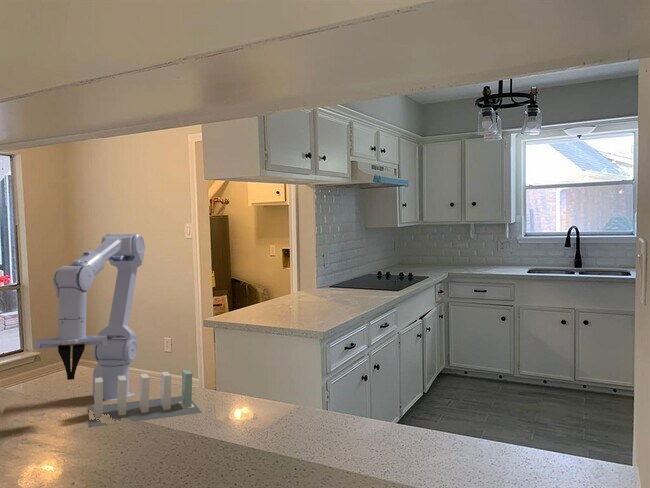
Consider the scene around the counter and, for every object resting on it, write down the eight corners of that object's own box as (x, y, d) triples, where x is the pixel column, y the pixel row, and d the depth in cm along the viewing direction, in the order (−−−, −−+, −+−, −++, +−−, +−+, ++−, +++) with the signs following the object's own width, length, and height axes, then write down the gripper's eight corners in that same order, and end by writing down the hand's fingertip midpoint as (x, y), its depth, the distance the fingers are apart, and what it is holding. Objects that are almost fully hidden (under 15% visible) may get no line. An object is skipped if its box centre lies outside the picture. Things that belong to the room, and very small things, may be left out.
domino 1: (94, 418, 112) (95, 382, 112) (94, 412, 116) (94, 378, 116) (102, 417, 112) (103, 381, 113) (101, 411, 117) (102, 377, 117)
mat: (89, 428, 106) (89, 427, 106) (87, 408, 121) (88, 406, 121) (202, 414, 116) (202, 412, 116) (188, 397, 131) (188, 395, 131)
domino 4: (163, 410, 118) (164, 376, 119) (160, 404, 123) (161, 372, 123) (170, 409, 119) (171, 375, 119) (167, 403, 123) (167, 371, 124)
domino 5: (184, 407, 120) (185, 374, 121) (181, 402, 125) (182, 370, 125) (191, 406, 121) (192, 373, 121) (188, 401, 126) (188, 369, 126)
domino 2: (118, 415, 114) (119, 380, 114) (117, 409, 118) (117, 376, 119) (126, 414, 114) (126, 379, 115) (124, 409, 119) (124, 375, 119)
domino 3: (141, 412, 116) (142, 378, 116) (139, 407, 120) (139, 374, 121) (148, 411, 117) (149, 377, 117) (146, 406, 121) (146, 373, 121)
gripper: (34, 321, 106) (32, 385, 105) (107, 318, 112) (106, 379, 112) (36, 318, 112) (34, 379, 111) (106, 315, 118) (105, 373, 118)
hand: (70, 378), depth 112 cm, fingers closed
